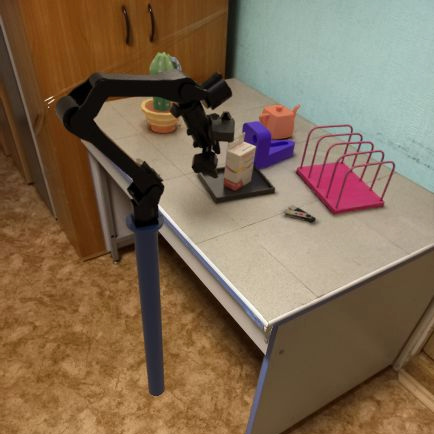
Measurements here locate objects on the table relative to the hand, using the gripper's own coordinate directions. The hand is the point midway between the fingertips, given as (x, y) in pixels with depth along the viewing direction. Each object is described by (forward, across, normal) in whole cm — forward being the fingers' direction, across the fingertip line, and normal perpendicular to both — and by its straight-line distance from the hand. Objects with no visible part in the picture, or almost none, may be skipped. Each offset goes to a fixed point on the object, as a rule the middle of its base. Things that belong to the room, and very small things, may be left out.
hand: (217, 165), depth 117 cm
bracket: (+24, +25, -9) cm, 36 cm away
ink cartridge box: (+14, +6, -1) cm, 16 cm away
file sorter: (+28, +9, -30) cm, 42 cm away
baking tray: (+15, +6, 0) cm, 16 cm away
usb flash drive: (+18, -8, -19) cm, 27 cm away
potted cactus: (+13, +40, +29) cm, 51 cm away
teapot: (+30, +43, -10) cm, 53 cm away
